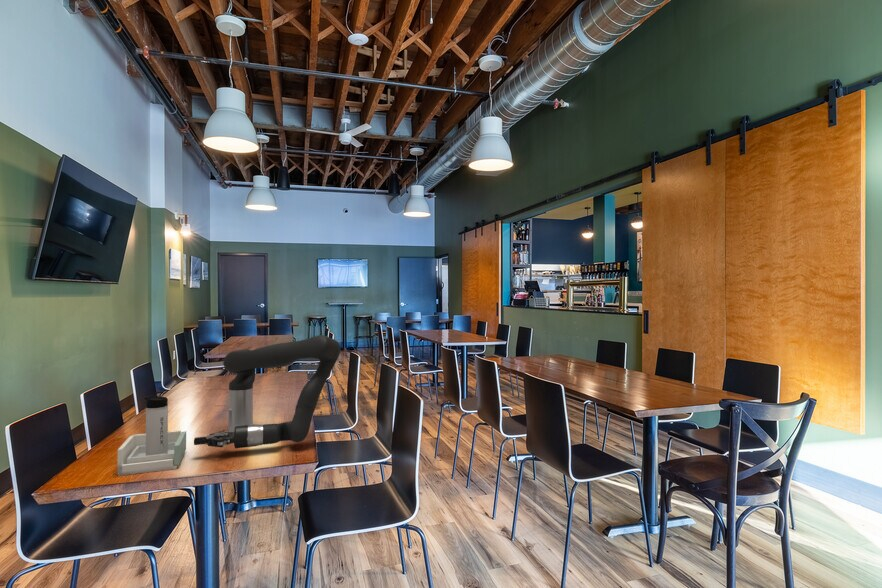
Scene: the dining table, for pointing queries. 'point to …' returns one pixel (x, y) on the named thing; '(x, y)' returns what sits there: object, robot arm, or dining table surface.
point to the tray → (174, 452)
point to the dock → (143, 466)
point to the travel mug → (156, 425)
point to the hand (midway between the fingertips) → (194, 441)
